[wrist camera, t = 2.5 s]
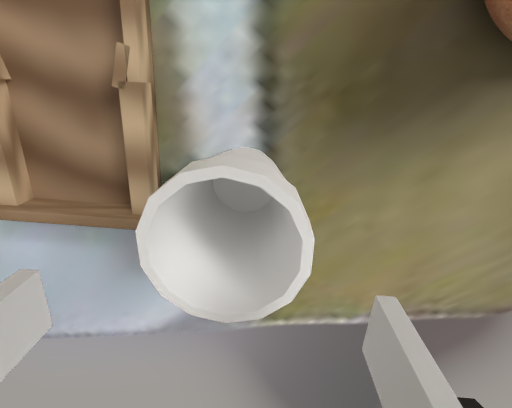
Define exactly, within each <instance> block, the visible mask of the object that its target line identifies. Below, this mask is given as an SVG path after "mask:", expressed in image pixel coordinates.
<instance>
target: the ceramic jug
mask: <svg viewBox="0 0 512 408" xmlns="http://www.w3.org/2000/svg"><path fill="white" fill-rule="evenodd" d="M484 2H485V4H486V7H487V10H488V12H489V14H490V16H491V18H492V20H493V21H494V23H495V24H496V26H497V27H498V28H499V30H500V31H501V32H502V33H503V34H504V35H505V36H506V37H507V38H508V39H509V40H511V41H512V0H484Z"/></svg>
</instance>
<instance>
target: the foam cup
mask: <svg viewBox="0 0 512 408" xmlns="http://www.w3.org/2000/svg"><path fill="white" fill-rule="evenodd" d="M135 233H136V239H137V246H138V253H139V260H140V266H141V268H142V269H143V271H144V272H145V273H146V275H147V276H148V278H149V279H150V281H151V282H152V284H153V285H154V287H155V288H156V289H157V291H158V292H159V294H160V295H161V296H162V297H164V298H165V299H167V300H168V301H170V302H172V303H173V304H175V305H176V306H178V307H179V308H181V309H182V310H184V311H185V312H187V313H188V314H190V315H193V316H197V317H201V318H206V319H210V320H214V321H219V322H223V323H231V322H239V321H247V320H255V319H262V318H263V317H265V316H267V315H269V314H270V313H272V312H274V311H276V310H278V309H279V308H281V307H283V306H285V305H287V304H288V303H290V302H292V300H293V299H294V297H295V296H296V294H297V293H298V292H299V290H300V289H301V287H302V286H303V285H304V283H305V282H306V280H307V279H308V277H309V276H310V275H311V269H312V259H313V250H314V241H315V238H314V235H313V231H312V228H311V224H310V221H309V218H308V216H307V213H306V211H305V209H304V206H303V204H302V202H301V199H300V197H299V195H298V192H297V190H296V188H295V187H294V186H293V185H291V184H290V183H289V182H288V181H287V180H286V179H285V178H284V176H283V175H282V173H281V172H280V171H279V169H278V168H277V166H276V165H275V163H274V162H273V161H272V160H271V159H270V158H269V157H268V156H267V155H265V154H264V153H263V152H262V151H261V150H257V149H253V148H250V147H246V146H245V147H240V148H235V149H230V150H227V151H225V152H222V153H220V154H218V155H215V156H213V157H211V158H207V159H202V160H197V161H192V162H191V163H189V164H188V165H187V166H186V167H184V168H183V169H182V170H181V171H179V172H178V173H177V174H176V175H174V176H173V177H172V178H171V179H169V180H168V181H167V182H166V183H164V184H163V185H162V186H161V187H160V188H159V189H158V190H157V191H156V192H154V193H153V194H152V195H151V196H150V197H149V198H148V200H147V203H146V205H145V208H144V211H143V213H142V216H141V218H140V221H139V223H138V226H137V229H136V231H135Z"/></svg>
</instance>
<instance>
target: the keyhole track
mask: <svg viewBox="0 0 512 408" xmlns="http://www.w3.org/2000/svg"><path fill="white" fill-rule="evenodd" d="M160 187H161V175H160V160H159V145H158V130H157V115H156V100H155V85H154V69H153V54H152V39H151V24H150V9H149V0H0V220H11V221H25V222H38V223H52V224H65V225H79V226H92V227H106V228H119V229H133V230H136V229H137V226H138V223H139V221H140V218H141V216H142V213H143V211H144V208H145V205H146V203H147V200H148V198H149V197H150V196H151V195H152V194H153V193H154V192H156V191H157V190H158V189H159V188H160Z"/></svg>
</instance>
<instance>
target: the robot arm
mask: <svg viewBox="0 0 512 408" xmlns="http://www.w3.org/2000/svg"><path fill="white" fill-rule="evenodd" d="M52 326H53V324H52V320H51V316H50V312H49V308H48V304H47V300H46V296H45V292H44V288H43V284H42V280H41V276H40V272H39V270H26V269H19V270H18V271H17V272H15V273H14V274H12V275H11V276H10V277H8V278H7V279H5V280H4V281H3V282H1V283H0V382H1V381H2V380H3V379H4V378H5V377H6V376H7V374H8V373H9V372H10V371H11V370H12V369H13V368H14V367H15V366H16V365H17V364H18V363H19V362H20V361H21V359H22V358H23V357H24V356H25V355H26V354H27V353H28V352H29V351H30V349H31V348H32V347H33V346H34V345H35V344H36V343H37V342H38V341H39V340H40V339H41V338H42V337H43V335H44V334H45V333H46V332H47V331H48V330H49V329H50V328H51V327H52ZM362 350H363V353H364V356H365V359H366V362H367V364H368V367H369V370H370V373H371V376H372V378H373V381H374V384H375V387H376V389H377V392H378V395H379V398H380V401H381V404H382V406H383V408H483V407H482V406H481V405H480V404H479V403H478V402H477V401H476V400H475V399H470V398H457V397H456V395H455V394H454V392H453V391H452V389H451V387H450V385H449V384H448V382H447V381H446V379H445V377H444V376H443V374H442V372H441V371H440V369H439V368H438V366H437V364H436V363H435V361H434V359H433V358H432V356H431V354H430V353H429V351H428V349H427V348H426V346H425V344H424V343H423V341H422V339H421V338H420V336H419V335H418V333H417V331H416V329H415V328H414V326H413V325H412V323H411V321H410V320H409V318H408V316H407V315H406V313H405V311H404V310H403V308H402V306H401V305H400V303H399V301H398V300H397V298H396V297H390V296H375V300H374V304H373V308H372V312H371V316H370V320H369V324H368V328H367V332H366V336H365V339H364V343H363V347H362Z"/></svg>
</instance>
